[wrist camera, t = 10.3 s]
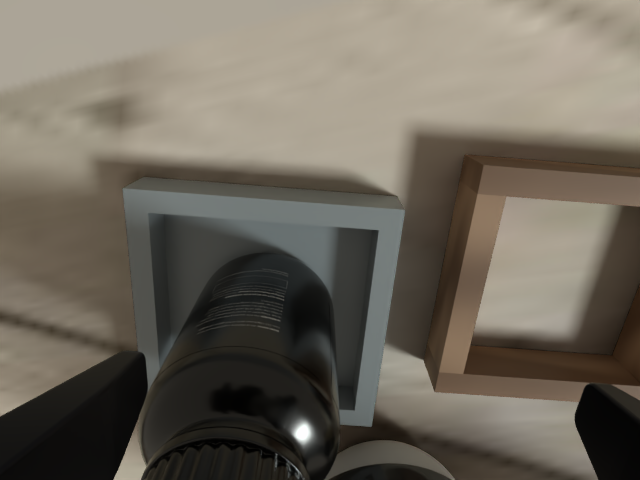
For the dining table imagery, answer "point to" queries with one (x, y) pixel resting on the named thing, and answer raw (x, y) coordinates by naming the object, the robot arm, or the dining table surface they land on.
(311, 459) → the supplement bottle
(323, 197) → the slate tray
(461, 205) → the walnut collar
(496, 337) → the dining table surface
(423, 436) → the dining table surface
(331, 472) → the grey egg shaped device
